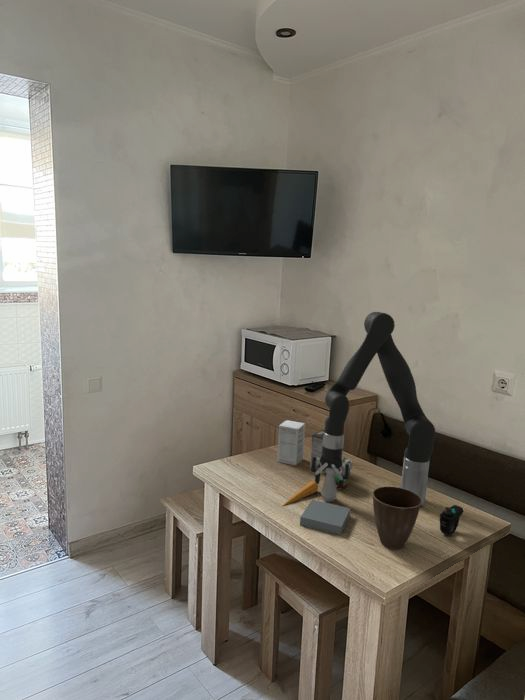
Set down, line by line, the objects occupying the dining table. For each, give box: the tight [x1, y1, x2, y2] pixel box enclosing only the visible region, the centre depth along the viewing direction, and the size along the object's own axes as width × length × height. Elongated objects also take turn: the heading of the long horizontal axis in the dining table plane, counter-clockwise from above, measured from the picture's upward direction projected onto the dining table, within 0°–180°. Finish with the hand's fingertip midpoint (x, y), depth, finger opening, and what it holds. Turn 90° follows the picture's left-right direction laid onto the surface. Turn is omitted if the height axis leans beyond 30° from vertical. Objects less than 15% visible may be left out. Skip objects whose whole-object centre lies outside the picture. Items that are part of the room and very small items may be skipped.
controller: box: [439, 504, 464, 536], centre depth 171 cm, size 4×12×10 cm, turn 137°
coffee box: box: [309, 429, 326, 475], centre depth 217 cm, size 9×6×16 cm
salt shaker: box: [320, 468, 338, 503], centre depth 190 cm, size 6×6×13 cm
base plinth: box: [299, 499, 351, 536], centre depth 175 cm, size 14×14×3 cm
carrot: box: [282, 480, 319, 507], centre depth 191 cm, size 20×4×4 cm, turn 137°
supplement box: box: [276, 419, 306, 466], centre depth 225 cm, size 10×9×17 cm
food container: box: [335, 456, 353, 490], centre depth 202 cm, size 12×6×10 cm, turn 143°
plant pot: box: [372, 486, 421, 550], centre depth 162 cm, size 15×15×16 cm
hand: (328, 485), depth 190 cm, fingers open, 8 cm apart
